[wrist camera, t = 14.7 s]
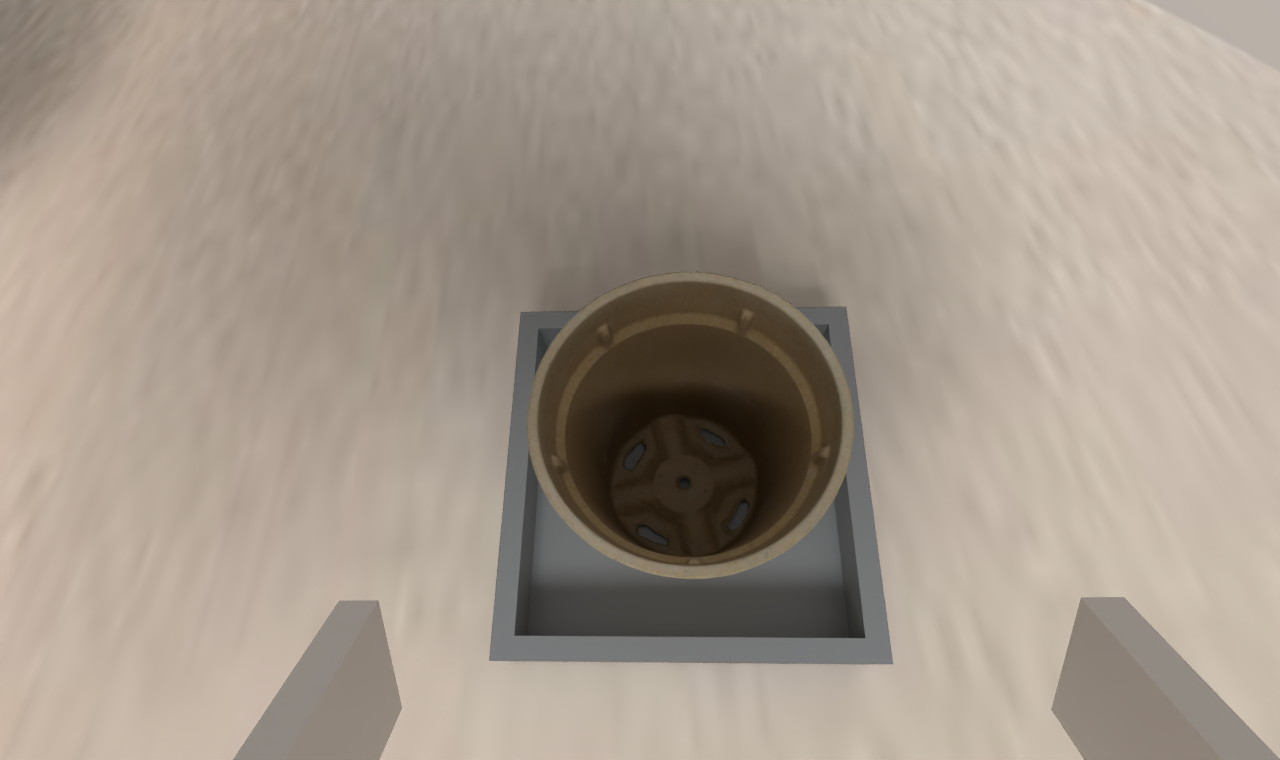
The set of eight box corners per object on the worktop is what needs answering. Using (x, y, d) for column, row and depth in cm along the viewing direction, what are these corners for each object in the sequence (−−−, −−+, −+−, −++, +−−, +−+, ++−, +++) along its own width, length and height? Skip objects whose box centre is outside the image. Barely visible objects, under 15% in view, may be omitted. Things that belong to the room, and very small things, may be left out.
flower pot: (589, 367, 29) (558, 257, 21) (805, 390, 28) (856, 283, 20) (549, 587, 26) (494, 552, 18) (795, 621, 25) (853, 601, 17)
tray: (509, 661, 25) (489, 660, 23) (534, 343, 31) (520, 312, 28) (868, 664, 25) (892, 664, 22) (830, 339, 30) (846, 306, 27)
